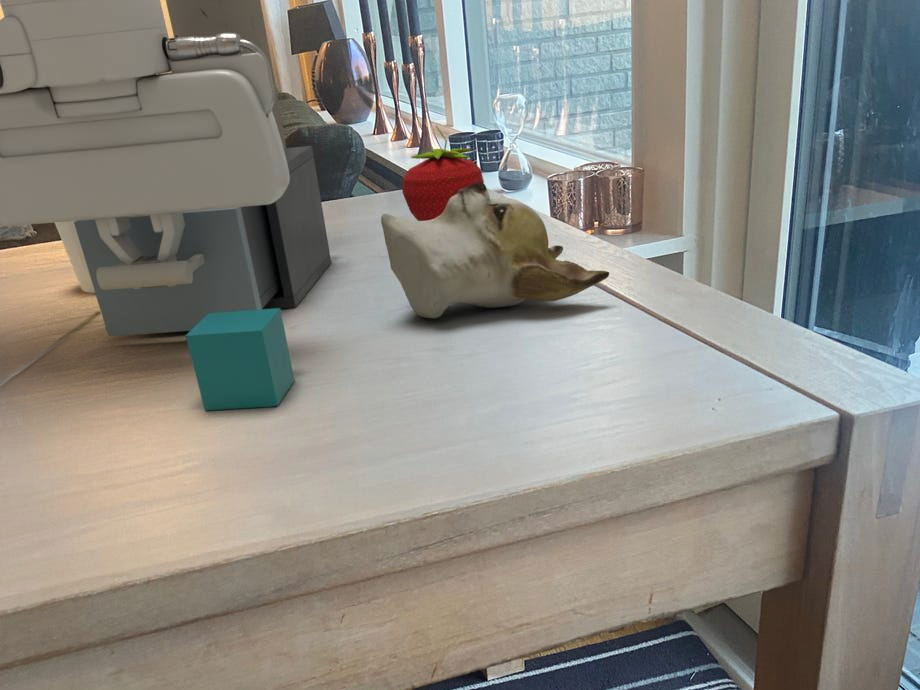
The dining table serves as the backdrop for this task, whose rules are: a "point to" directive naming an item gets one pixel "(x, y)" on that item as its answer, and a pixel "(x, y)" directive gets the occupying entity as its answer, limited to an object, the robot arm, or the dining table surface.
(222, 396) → the teal matte cube
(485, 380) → the dining table surface
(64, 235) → the white tapered cup
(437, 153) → the strawberry
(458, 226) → the ceramic sculpture
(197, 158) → the robot arm
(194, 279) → the grey drawer
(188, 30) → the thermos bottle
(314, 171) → the drawer cabinet
